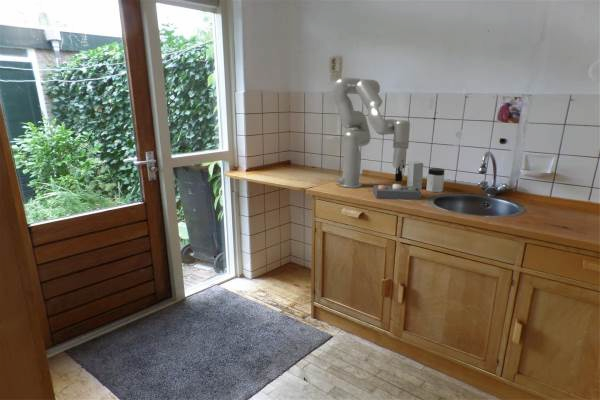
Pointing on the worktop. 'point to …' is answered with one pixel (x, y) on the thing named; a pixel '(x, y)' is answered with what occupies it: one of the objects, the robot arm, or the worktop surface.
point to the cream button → (396, 187)
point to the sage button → (411, 188)
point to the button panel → (396, 193)
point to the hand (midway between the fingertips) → (398, 181)
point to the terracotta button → (382, 186)
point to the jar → (435, 180)
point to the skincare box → (415, 174)
